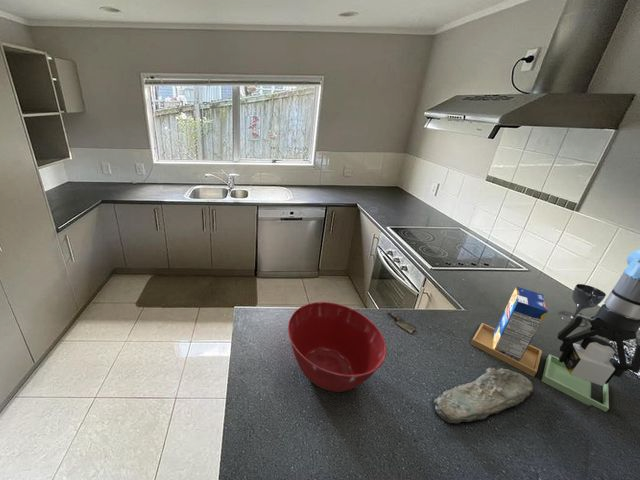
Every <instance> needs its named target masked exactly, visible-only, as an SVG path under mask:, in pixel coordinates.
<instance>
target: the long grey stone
mask: <svg viewBox="0 0 640 480" xmlns="http://www.w3.org/2000/svg"><path fill="white" fill-rule="evenodd" d="M532 392H534V387H533V383H532V382H531V380H530V379H529V378H527V377H526V376H525V375H523V374H522V373H519V372H516V371H512V370H510V368H509V369H507V368H503V367H501V368H499V369H496V368H492V367H488V368H486V369H485V373H484V374H481V375H480V376H478V377H477V378H476V379H475V380H473V381H472V382H467V383H463V384H460V385H457V386H454V387H451V389H448V390H444V391H443V393H442V394H439V395H438V396H437V398H435V399H434V400H433V404H434V405H435V406H434V410H435V412H436V413H437V416H439V417H440V418H441V420H443V421H445V422H446V423H449V424H460V423H462V422H464V423H465V422H466V423H469V422H473V421H476V420H477V421H478V420H485V419H487V417H489V416H490V415H493V414H499V413H500V412H501V411H505V410H506V409H509V408H511V407H516V406H518V405H519V404H520V403H523V402H524V400H525V399H526V398H528V397H530V396H531V393H532Z"/></svg>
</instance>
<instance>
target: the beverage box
mask: <svg viewBox="0 0 640 480" xmlns="http://www.w3.org/2000/svg"><path fill="white" fill-rule="evenodd" d="M547 313H548V307H547V304H546V301H545V296H544V294H543V293H539V292H536V291H533V290H530V289H526V288H523V287H521V286H520V287H519V286H515V288H514V290H513V292H512V294H511V296H510V298H509V301H508V303H507V305H506V307H505V309H504V310H503V313H502V315H501V317H500V319H499V321H498V323H497V325H496V327H495V331H494V333H493V349H495V350H497V351H499V352H501V353H503V354H505V355H507V356H509V357H511V358H513V359H515V360H517V361H520V360H521V358H522V356H523V354H524V353H525V351H526V349H527V347H528V345H531V342H532V340H533V338H534V336H535V335H536V333H537V331H538V329H539V328H540V326H541V324H542V322H543V320H544V319H545V318H546V315H547Z"/></svg>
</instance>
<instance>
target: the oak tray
mask: <svg viewBox="0 0 640 480" xmlns="http://www.w3.org/2000/svg"><path fill="white" fill-rule="evenodd" d="M495 329H496V327H495V328H494V327H492V326H490V325H488V324H486V323H483V322H482V323H481V324H480V326H479V328H478V329H477V330H476V332H475V334H474V335H473V338H472V340H471V342H470V345H472V346H473V347H475V348H477V349H479V350H481V351H482V352H485V353H486V354H489V355H491V356H492V357H494V358H496V359H498V360H499V361H502V362H503V363H506V364H508V365H510V366H512V367H514V368H515V369H517V370H519V371H521V372H523V373H525V374H526V375H528V376H531V377H532V378H535V376H536V375H537V372H538V370H539V365H540V362H541V357H542V354H543V350H542V349H540V348H538V347H535V346H534V345H531V344H529V345H528V347H527V349H526V351H525V353H524V354H523V356H522V358H521V360H520V361H517V360H515V359H513V358H511V357H509V356H507V355H505V354H503V353H501V352H499V351H497V350H495V349H493V333H494V331H495Z"/></svg>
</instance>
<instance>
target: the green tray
mask: <svg viewBox="0 0 640 480" xmlns="http://www.w3.org/2000/svg"><path fill="white" fill-rule="evenodd" d="M546 357H547V358H546V360H545V362H544V363H545V364H544V368H543V373H542V377H541V383H544V384H546V385H547V386H550V387H551V388H554V389H555V390H557V391H559V392H562V393H563V394H565V395H567V396H569V397H570V398H572V399H575V400H576V401H578V402H579V403H582V404H584V405H586V406H588V407H591V406H594V407H595V408H598V409H600V410H601V411H603V412H605V413H607V412H608V410H609V409H610V394H609V393H610V392H609V382H608V383H607V384H605V383H604V385H603V386H602V403H601V402H599V401H598V400H595V399H593V398H592V382H589V381H586V380H583V379H580V378H578V377H575V376H572V375H570V374H569V373H568V371H567V369H566V367H565V365H564V363H561V362H559V358H560V357H557V356H554V355H552V354H550V353H549V355H548V356H546Z"/></svg>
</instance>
